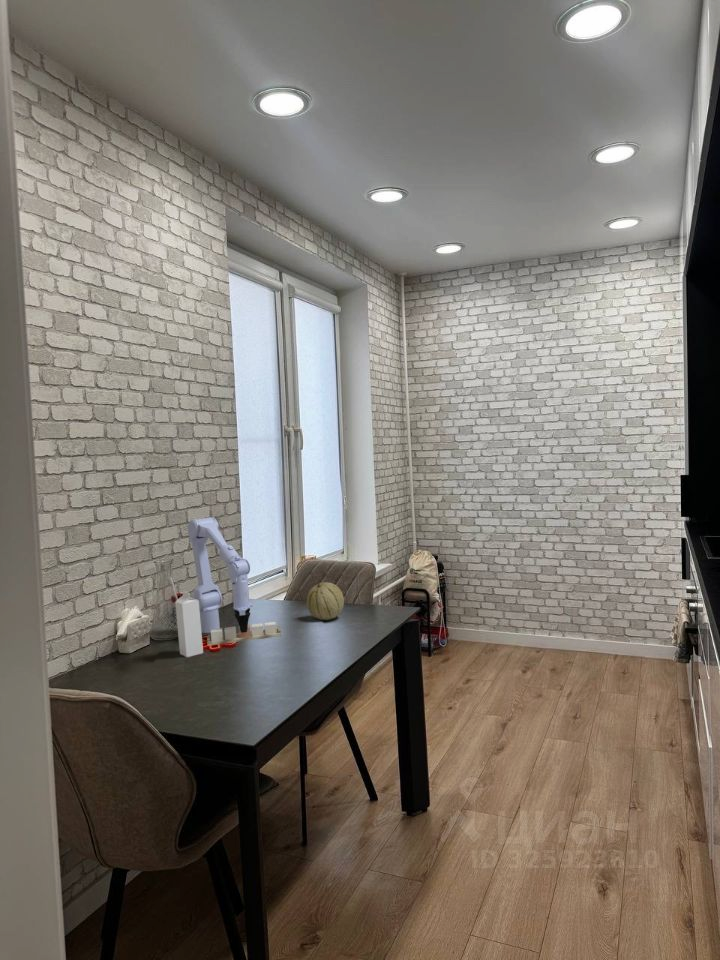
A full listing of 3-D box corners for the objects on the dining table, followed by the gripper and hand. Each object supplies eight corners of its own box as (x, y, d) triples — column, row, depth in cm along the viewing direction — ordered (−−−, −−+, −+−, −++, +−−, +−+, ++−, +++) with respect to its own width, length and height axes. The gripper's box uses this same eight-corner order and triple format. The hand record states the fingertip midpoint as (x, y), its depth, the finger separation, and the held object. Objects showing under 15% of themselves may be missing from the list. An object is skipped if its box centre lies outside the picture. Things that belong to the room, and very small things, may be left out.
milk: (186, 659, 226) (180, 594, 224) (180, 656, 230) (173, 592, 229) (203, 655, 229) (197, 591, 228) (196, 651, 234) (190, 589, 233)
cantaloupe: (349, 614, 270) (346, 577, 269) (339, 624, 256) (336, 585, 255) (314, 614, 274) (311, 578, 273) (302, 624, 259) (299, 586, 259)
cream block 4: (265, 636, 244) (264, 625, 243) (265, 633, 248) (264, 622, 247) (276, 635, 244) (276, 624, 244) (276, 632, 248) (275, 621, 248)
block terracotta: (239, 639, 242) (238, 628, 242) (239, 636, 246) (238, 626, 246) (250, 638, 243) (250, 627, 242) (250, 635, 247) (249, 624, 246)
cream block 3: (252, 638, 243) (251, 627, 243) (252, 635, 247) (251, 624, 246) (263, 636, 243) (262, 625, 243) (263, 633, 247) (262, 623, 247)
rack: (207, 647, 238) (207, 640, 238) (208, 641, 246) (208, 634, 246) (281, 638, 242) (280, 631, 242) (279, 632, 251) (279, 625, 251)
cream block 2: (225, 641, 241) (224, 630, 241) (225, 638, 245) (224, 627, 245) (236, 640, 242) (235, 629, 242) (236, 637, 246) (235, 626, 245)
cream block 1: (211, 643, 240) (210, 632, 240) (212, 640, 244) (211, 629, 244) (223, 641, 241) (222, 630, 241) (223, 638, 245) (222, 628, 245)
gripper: (252, 596, 237) (255, 634, 238) (251, 588, 251) (254, 624, 252) (232, 598, 236) (235, 636, 236) (232, 590, 250) (235, 626, 251)
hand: (244, 630), depth 244 cm, fingers closed on block terracotta, 4 cm apart
